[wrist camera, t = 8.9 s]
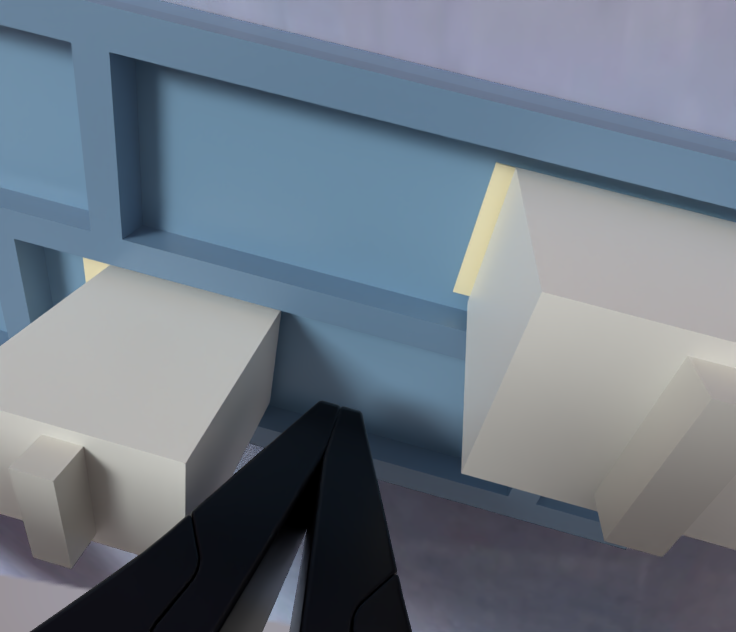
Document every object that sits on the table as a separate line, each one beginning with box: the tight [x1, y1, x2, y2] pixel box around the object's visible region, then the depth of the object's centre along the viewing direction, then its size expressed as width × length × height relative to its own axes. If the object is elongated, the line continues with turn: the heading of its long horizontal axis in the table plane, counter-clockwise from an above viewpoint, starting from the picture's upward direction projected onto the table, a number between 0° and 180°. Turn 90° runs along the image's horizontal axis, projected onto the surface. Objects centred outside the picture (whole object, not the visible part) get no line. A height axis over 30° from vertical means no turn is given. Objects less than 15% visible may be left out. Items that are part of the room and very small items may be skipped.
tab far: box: [0, 265, 281, 569], centre depth 9 cm, size 4×2×5 cm
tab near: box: [461, 167, 736, 557], centre depth 7 cm, size 4×2×5 cm
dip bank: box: [0, 0, 736, 550], centre depth 10 cm, size 15×8×2 cm, turn 79°
